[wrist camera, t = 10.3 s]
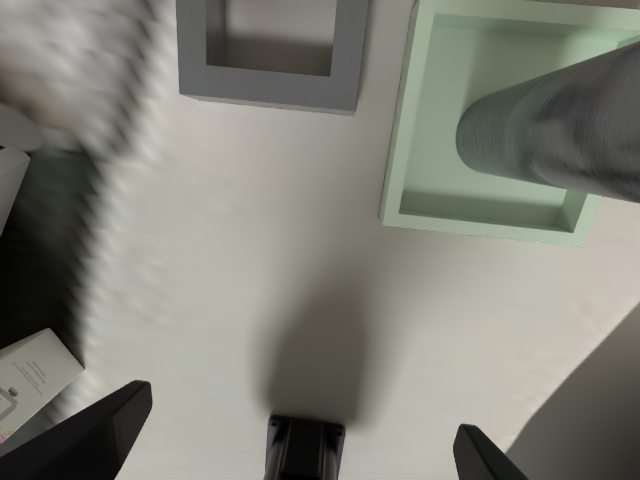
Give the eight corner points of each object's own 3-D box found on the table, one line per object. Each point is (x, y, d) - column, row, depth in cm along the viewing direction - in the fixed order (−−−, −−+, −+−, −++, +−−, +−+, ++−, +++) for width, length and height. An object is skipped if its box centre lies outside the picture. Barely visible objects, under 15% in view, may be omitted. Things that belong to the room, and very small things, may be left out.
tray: (556, 237, 20) (582, 247, 17) (378, 217, 20) (382, 225, 18) (629, 30, 16) (673, 12, 14) (411, 11, 16) (421, -9, 14)
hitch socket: (353, 115, 18) (355, 111, 16) (200, 100, 19) (179, 93, 16) (377, -84, 15) (384, -127, 13) (196, -98, 16) (170, -141, 13)
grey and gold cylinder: (501, 200, 18) (1041, 383, 4) (426, 151, 18) (756, 171, 4) (569, 116, 17) (1825, -53, 3) (489, 59, 16) (1519, -545, 2)
